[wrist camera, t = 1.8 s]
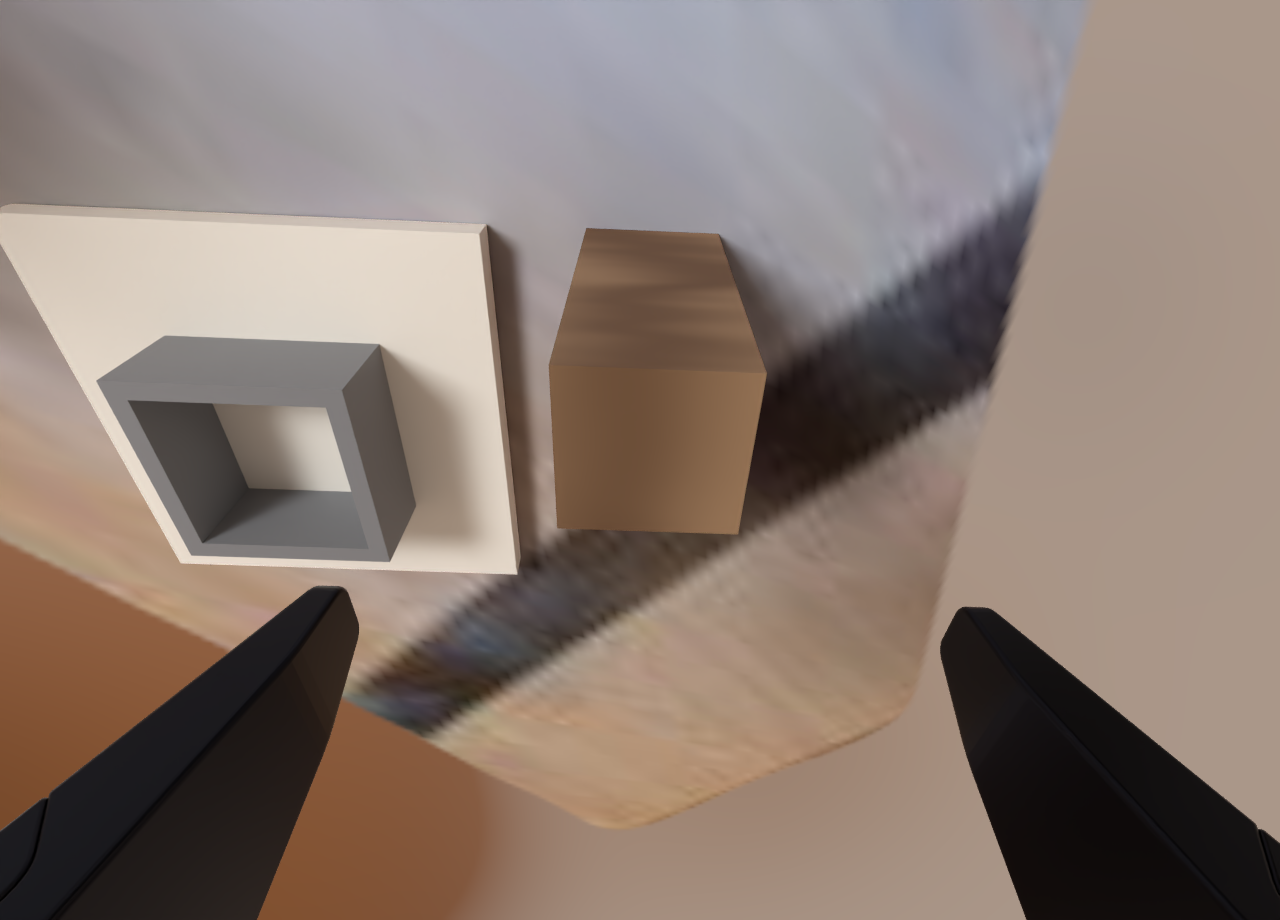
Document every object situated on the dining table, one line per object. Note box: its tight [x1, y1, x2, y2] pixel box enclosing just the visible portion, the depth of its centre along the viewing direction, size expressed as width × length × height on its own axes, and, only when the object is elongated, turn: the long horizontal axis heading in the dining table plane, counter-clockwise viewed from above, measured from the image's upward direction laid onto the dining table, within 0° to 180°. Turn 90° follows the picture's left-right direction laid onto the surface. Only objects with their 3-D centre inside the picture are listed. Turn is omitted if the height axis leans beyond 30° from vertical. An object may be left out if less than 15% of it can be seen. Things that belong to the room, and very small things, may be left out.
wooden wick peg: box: [549, 228, 767, 534], centre depth 16 cm, size 4×4×9 cm
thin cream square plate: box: [0, 204, 521, 574], centre depth 21 cm, size 14×14×4 cm
